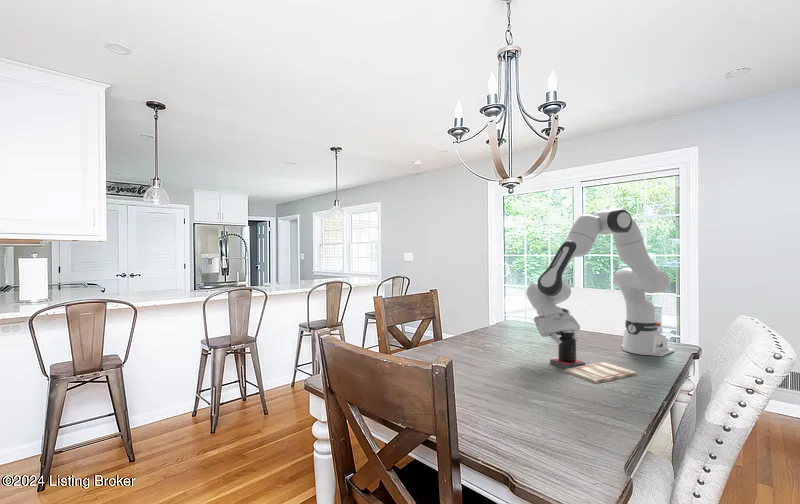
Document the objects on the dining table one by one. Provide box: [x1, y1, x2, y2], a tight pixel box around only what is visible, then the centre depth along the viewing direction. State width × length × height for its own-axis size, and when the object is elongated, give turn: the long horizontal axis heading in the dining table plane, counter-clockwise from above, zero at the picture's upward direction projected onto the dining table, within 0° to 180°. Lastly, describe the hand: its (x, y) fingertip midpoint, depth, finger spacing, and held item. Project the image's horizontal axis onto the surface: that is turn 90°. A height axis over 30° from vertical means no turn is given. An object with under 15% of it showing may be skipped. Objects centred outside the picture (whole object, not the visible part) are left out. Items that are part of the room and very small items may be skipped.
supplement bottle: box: [557, 330, 577, 362], centre depth 154 cm, size 7×7×12 cm
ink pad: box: [549, 357, 586, 370], centre depth 154 cm, size 10×9×2 cm
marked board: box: [564, 361, 638, 384], centre depth 143 cm, size 22×14×1 cm, turn 113°
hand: (568, 342), depth 153 cm, fingers closed on supplement bottle, 7 cm apart
